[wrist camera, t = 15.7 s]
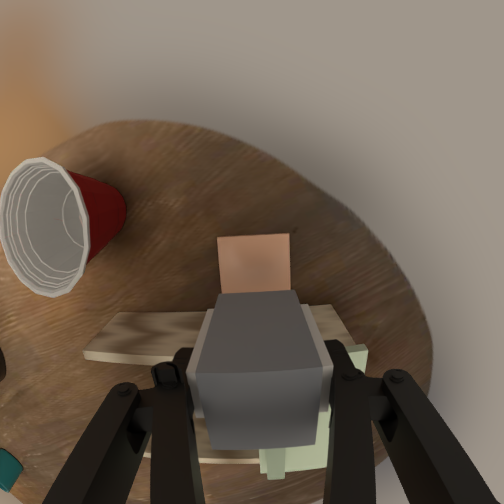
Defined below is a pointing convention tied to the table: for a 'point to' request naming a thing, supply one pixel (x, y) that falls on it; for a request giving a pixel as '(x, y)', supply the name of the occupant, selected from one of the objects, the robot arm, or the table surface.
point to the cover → (312, 455)
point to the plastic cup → (55, 224)
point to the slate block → (259, 373)
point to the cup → (8, 470)
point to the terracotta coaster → (254, 262)
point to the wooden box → (169, 342)
